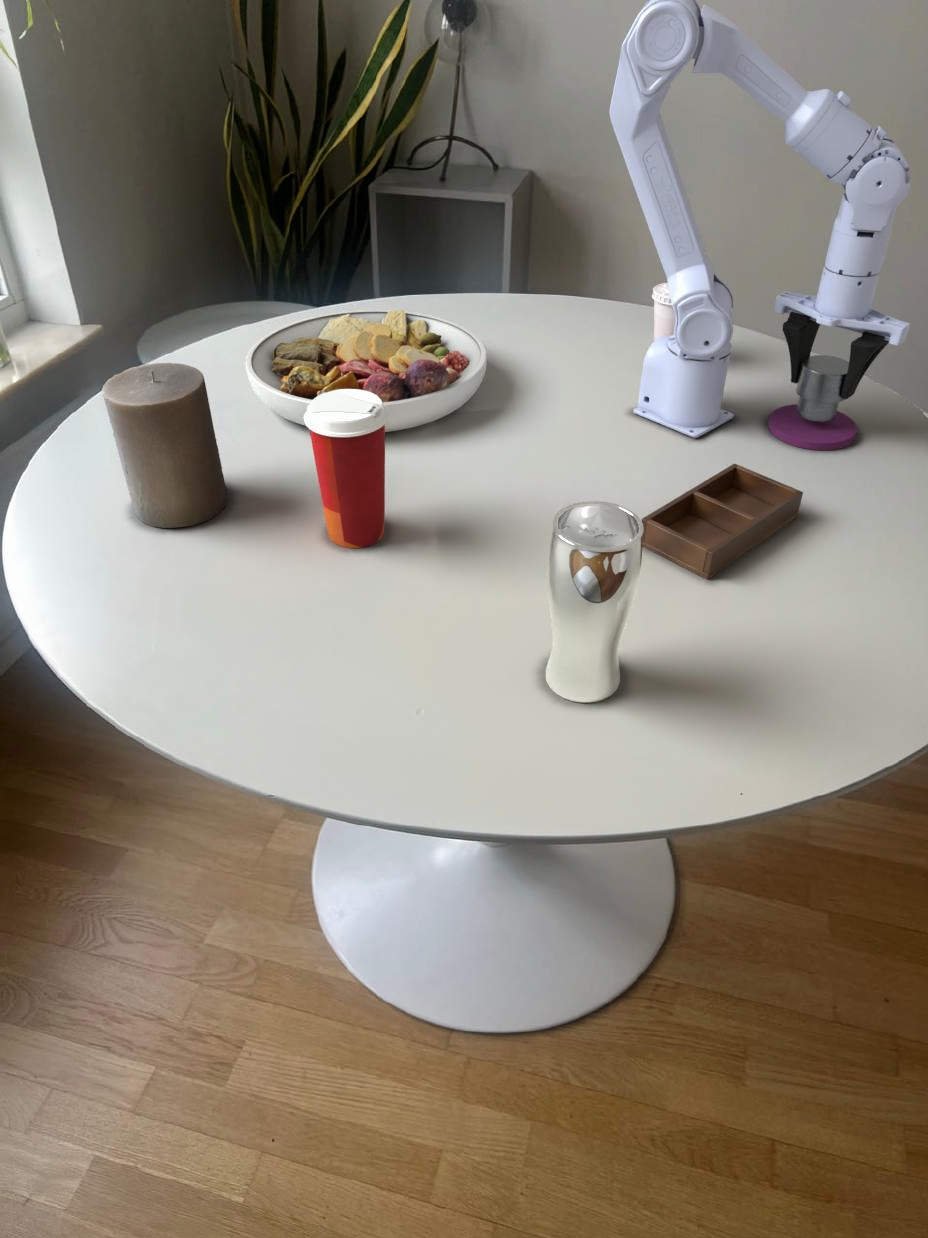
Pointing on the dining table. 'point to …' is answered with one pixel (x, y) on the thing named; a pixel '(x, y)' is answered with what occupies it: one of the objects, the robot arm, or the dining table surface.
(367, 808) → the dining table surface
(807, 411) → the grey metal cylinder
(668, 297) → the smoothie
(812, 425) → the plum lid
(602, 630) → the beer glass
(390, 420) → the bowl
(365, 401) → the paper cup
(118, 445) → the pillar candle
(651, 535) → the tray
